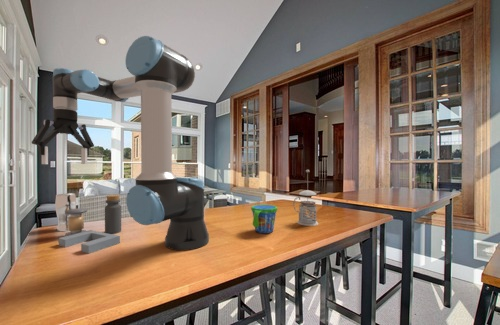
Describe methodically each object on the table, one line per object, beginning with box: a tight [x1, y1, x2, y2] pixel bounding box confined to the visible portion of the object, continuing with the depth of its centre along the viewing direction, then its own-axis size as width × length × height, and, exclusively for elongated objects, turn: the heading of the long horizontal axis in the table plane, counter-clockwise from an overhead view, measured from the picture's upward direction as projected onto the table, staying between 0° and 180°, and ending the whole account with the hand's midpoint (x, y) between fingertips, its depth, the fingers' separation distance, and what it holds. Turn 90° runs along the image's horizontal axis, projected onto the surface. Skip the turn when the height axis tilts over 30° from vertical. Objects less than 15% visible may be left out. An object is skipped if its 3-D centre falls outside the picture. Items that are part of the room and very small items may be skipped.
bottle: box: [104, 194, 122, 235], centre depth 96 cm, size 6×6×15 cm
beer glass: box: [54, 192, 77, 232], centre depth 99 cm, size 7×7×15 cm
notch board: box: [58, 229, 121, 255], centre depth 82 cm, size 17×10×2 cm, turn 65°
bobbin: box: [64, 207, 88, 237], centre depth 91 cm, size 7×7×10 cm
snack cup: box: [250, 204, 278, 234], centre depth 96 cm, size 16×10×10 cm
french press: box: [292, 169, 319, 227], centre depth 109 cm, size 10×12×25 cm
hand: (65, 164), depth 92 cm, fingers open, 13 cm apart
